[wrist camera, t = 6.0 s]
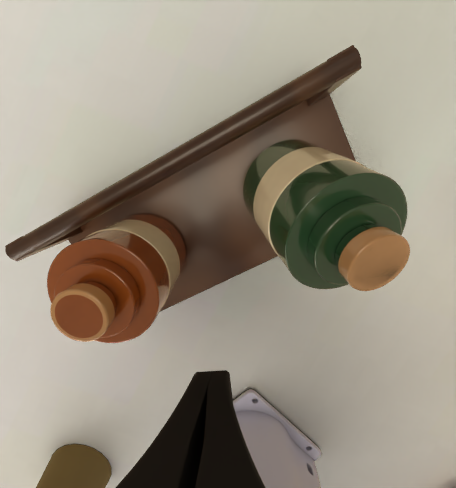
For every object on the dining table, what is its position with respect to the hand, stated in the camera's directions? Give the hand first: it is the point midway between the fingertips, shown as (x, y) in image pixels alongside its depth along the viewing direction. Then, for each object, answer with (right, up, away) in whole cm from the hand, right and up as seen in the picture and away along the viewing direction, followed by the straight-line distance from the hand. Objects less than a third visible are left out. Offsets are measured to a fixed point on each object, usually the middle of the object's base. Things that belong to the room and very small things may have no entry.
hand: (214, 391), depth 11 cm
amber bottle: (-5, +5, +8) cm, 11 cm away
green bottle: (+4, +10, +6) cm, 12 cm away
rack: (-1, +8, +9) cm, 12 cm away
